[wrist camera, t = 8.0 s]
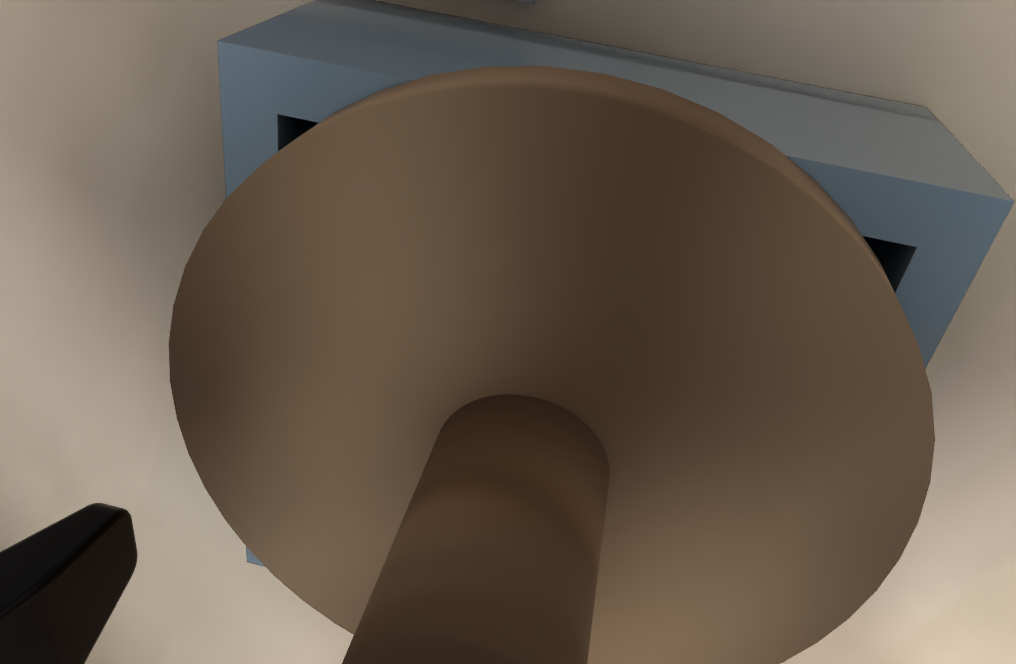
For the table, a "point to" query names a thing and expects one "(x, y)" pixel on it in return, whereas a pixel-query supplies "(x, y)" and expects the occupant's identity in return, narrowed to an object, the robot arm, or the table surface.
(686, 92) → the dish
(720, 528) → the lid
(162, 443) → the table surface
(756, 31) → the table surface
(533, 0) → the mat
